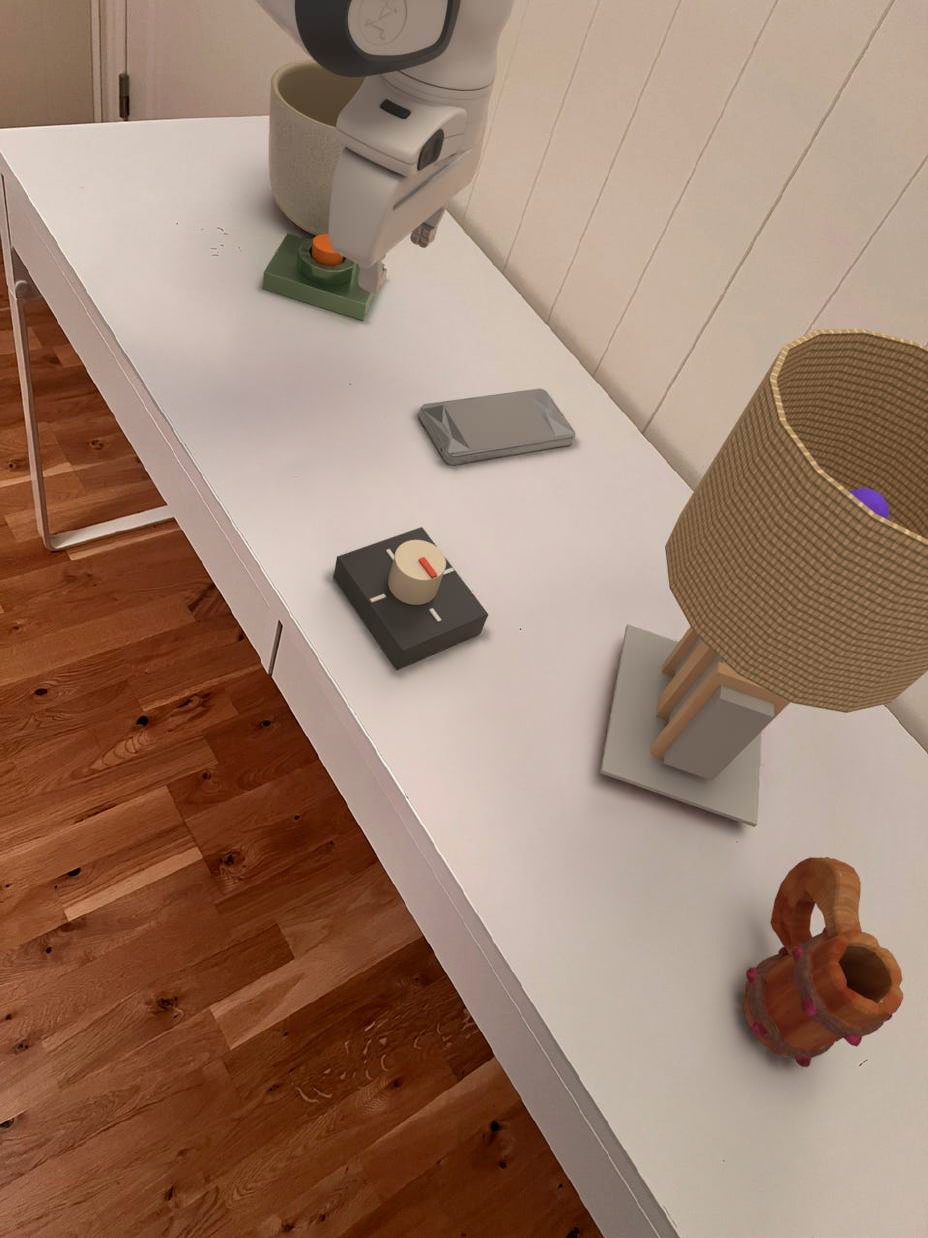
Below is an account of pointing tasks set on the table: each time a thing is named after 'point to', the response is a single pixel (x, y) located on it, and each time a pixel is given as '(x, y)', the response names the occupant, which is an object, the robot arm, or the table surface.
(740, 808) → the desk lamp
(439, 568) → the dial
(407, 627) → the panel
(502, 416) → the phone
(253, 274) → the table surface
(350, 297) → the push button box
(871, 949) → the mug
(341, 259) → the switch
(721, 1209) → the table surface
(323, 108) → the planter
